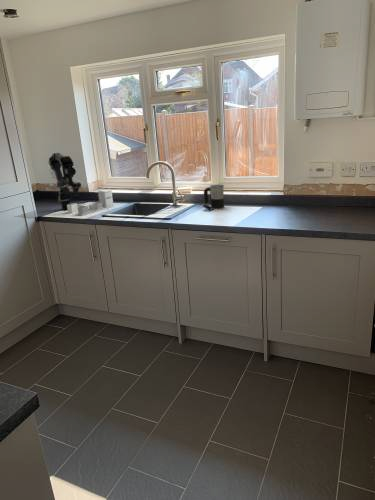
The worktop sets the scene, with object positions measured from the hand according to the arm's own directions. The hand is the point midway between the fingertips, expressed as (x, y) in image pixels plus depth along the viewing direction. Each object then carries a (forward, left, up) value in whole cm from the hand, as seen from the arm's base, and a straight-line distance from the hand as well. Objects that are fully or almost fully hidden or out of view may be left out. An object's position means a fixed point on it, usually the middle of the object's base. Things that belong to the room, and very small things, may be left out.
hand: (70, 196), depth 284 cm
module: (0, 0, -11) cm, 11 cm away
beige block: (+7, +13, -11) cm, 19 cm away
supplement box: (+13, +21, -12) cm, 27 cm away
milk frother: (+94, +39, -12) cm, 102 cm away
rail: (+13, +5, -11) cm, 18 cm away
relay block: (-4, +11, -11) cm, 16 cm away
